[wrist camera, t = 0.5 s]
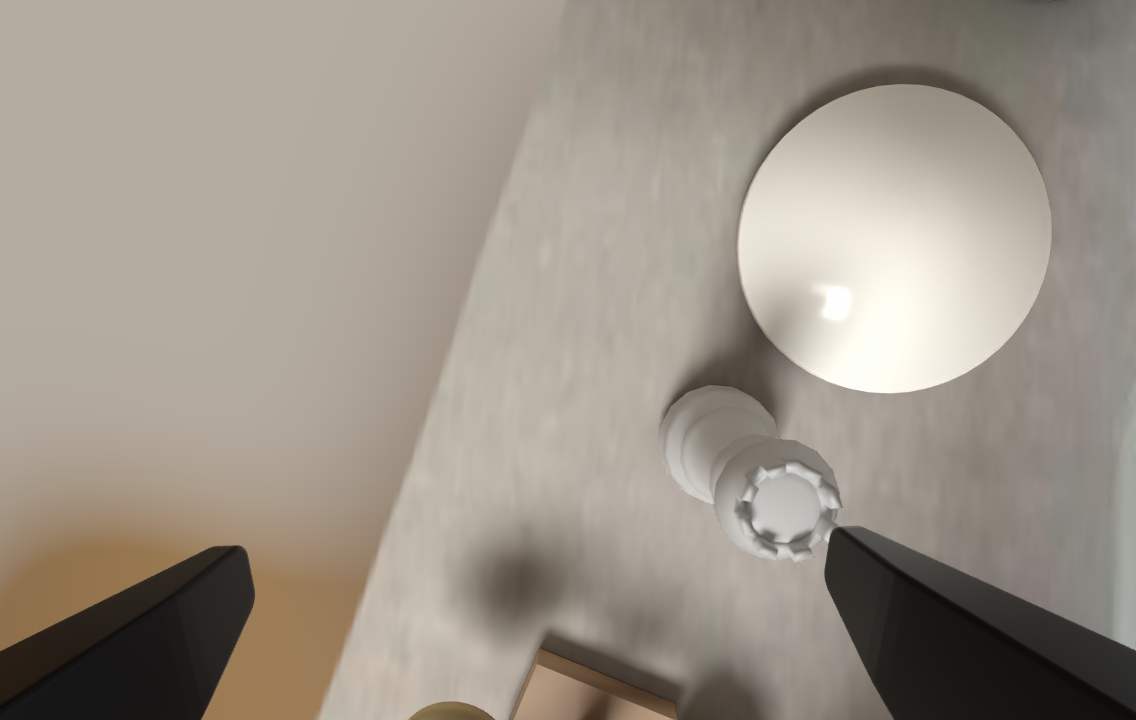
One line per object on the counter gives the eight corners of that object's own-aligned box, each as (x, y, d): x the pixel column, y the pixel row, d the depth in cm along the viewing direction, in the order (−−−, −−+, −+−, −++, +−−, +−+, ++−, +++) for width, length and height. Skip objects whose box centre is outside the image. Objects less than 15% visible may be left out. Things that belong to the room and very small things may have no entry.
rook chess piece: (633, 448, 21) (660, 527, 13) (704, 360, 21) (778, 385, 13) (721, 516, 21) (802, 636, 13) (793, 429, 21) (922, 498, 13)
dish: (1079, 160, 19) (1106, 152, 18) (950, 432, 20) (969, 437, 19) (803, 51, 20) (815, 36, 19) (687, 326, 21) (692, 326, 20)
